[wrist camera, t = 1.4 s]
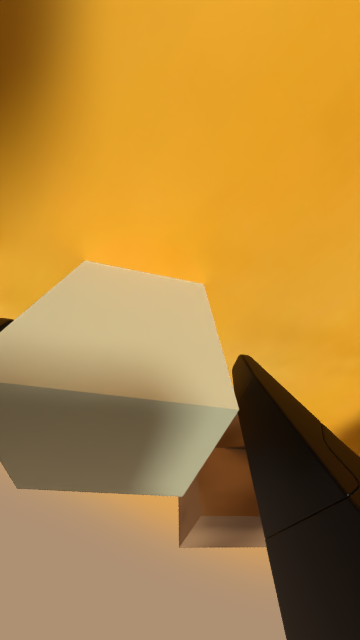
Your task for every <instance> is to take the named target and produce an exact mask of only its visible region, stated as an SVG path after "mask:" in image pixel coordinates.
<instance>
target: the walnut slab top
mask: <svg viewBox="0 0 360 640" xmlns="http://www.w3.org/2000/svg"><path fill="white" fill-rule="evenodd" d="M179 547H181V548H182V547H183V548H192V547H193V548H194V547H266V543H265V537H264V533H263V528H262V524H261V519H260V514H259V510H258V505H257V501H256V496H255V491H254V487H253V482H252V478H251V473H250V468H249V464H248V459H247V455H246V450H245V449H232V448H214V449H213V451H212V452H211V454H210V455H209V457H208V458H207V460H206V461H205V463H204V464H203V466H202V468H201V469H200V471H199V472H198V474H197V475H196V477H195V478H194V480H193V481H192V483H191V484H190V486H189V487H188V489H187V491H186V492H185V494H184V495H183V497H179Z"/></svg>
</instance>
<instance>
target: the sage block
mask: <svg viewBox="0 0 360 640" xmlns="http://www.w3.org/2000/svg"><path fill="white" fill-rule="evenodd" d="M238 411H239V407H238V404H237V400H236V397H235V393H234V390H233V386H232V382H231V379H230V375H229V372H228V368H227V365H226V361H225V358H224V354H223V351H222V347H221V344H220V340H219V337H218V333H217V330H216V326H215V323H214V319H213V315H212V312H211V308H210V305H209V301H208V298H207V294H206V291H205V287H204V284H201V283H196V282H191V281H186V280H181V279H176V278H171V277H166V276H161V275H156V274H151V273H146V272H141V271H136V270H131V269H126V268H121V267H116V266H111V265H106V264H101V263H96V262H91V261H86V260H85V261H84V262H83V263H82V264H80V265H79V266H78V267H77V268H76V269H74V270H73V271H72V272H71V273H70V274H68V275H67V276H66V277H65V278H64V279H63V280H61V281H60V282H59V283H58V284H57V285H55V286H54V287H53V288H52V289H51V290H50V291H48V292H47V293H46V294H45V295H44V296H42V297H41V298H40V299H39V300H38V301H36V302H35V303H34V304H33V305H32V306H31V307H29V308H28V309H27V310H26V311H25V312H23V313H22V314H21V315H20V316H19V317H17V318H16V319H15V320H14V321H13V322H12V323H10V324H9V325H8V326H7V327H6V328H4V329H3V330H2V331H1V332H0V462H1V463H2V465H3V466H4V468H5V470H6V471H7V473H8V474H9V476H10V478H11V479H12V481H13V482H14V484H15V486H16V487H17V488H19V489H38V490H58V491H79V492H99V493H118V494H138V495H158V496H178V497H183V495H184V494H185V492H186V491H187V489H188V487H189V486H190V484H191V483H192V481H193V480H194V478H195V477H196V475H197V474H198V472H199V471H200V469H201V468H202V466H203V464H204V463H205V461H206V460H207V458H208V457H209V455H210V454H211V452H212V451H213V449H214V448H215V446H216V445H217V443H218V441H219V440H220V438H221V437H222V435H223V434H224V432H225V431H226V429H227V428H228V426H229V425H230V423H231V422H232V420H233V418H234V417H235V415H236V414H237V412H238Z"/></svg>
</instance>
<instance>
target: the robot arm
mask: <svg viewBox="0 0 360 640" xmlns="http://www.w3.org/2000/svg"><path fill="white" fill-rule="evenodd" d="M13 321H14V320H13V319H7V318H0V332H1V331H2V330H3V329H4V328H6V327H7V326H8V325H9V324H10V323H12V322H13ZM232 375H233V385H234V393H235V397H236V400H237V404H238V407H239V411H238V412H237V413H238V418H239V422H240V427H241V432H242V436H243V441H244V445H245V450H246V455H247V459H248V464H249V468H250V473H251V478H252V482H253V487H254V491H255V496H256V501H257V505H258V510H259V514H260V519H261V524H262V528H263V533H264V537H265V543H266V547H267V551H268V556H269V561H270V566H271V570H272V575H273V579H274V584H275V589H276V593H277V598H278V602H279V607H280V612H281V616H282V621H283V625H284V630H285V634H286V639H287V640H360V457H359V456H358V455H357V454H356V453H354V452H353V451H352V450H351V449H350V448H349V447H347V446H346V445H345V444H344V443H343V442H342V441H341V440H340V439H339V438H337V437H336V436H335V435H334V434H333V433H332V432H331V431H330V430H329V429H328V428H327V427H326V426H325V425H323V424H322V423H321V422H320V421H319V420H318V419H317V418H316V417H315V416H314V415H313V414H312V413H310V412H309V411H308V410H307V409H306V408H305V407H304V406H303V405H302V404H301V403H300V402H299V401H298V400H297V399H295V398H294V397H293V396H292V395H291V394H290V393H289V392H288V391H287V390H286V389H285V388H284V387H283V386H282V385H280V384H279V383H278V382H277V381H276V380H275V379H274V378H273V377H272V376H271V375H270V374H269V373H268V372H267V371H265V370H264V369H263V368H262V367H261V366H260V365H259V364H258V363H257V362H256V361H255V360H254V359H253V358H252V357H250V356H249V355H242V354H241V355H239V356H238V358H237V360H236V362H235V364H234V366H233V369H232Z"/></svg>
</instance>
